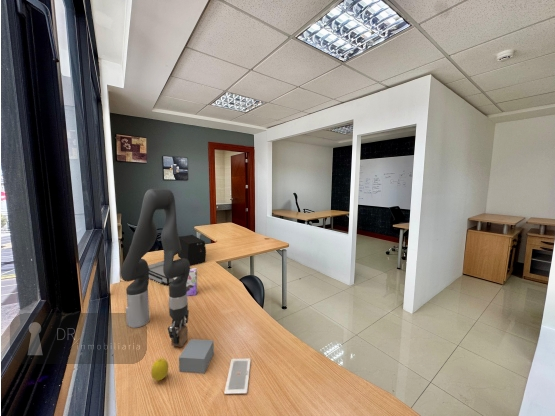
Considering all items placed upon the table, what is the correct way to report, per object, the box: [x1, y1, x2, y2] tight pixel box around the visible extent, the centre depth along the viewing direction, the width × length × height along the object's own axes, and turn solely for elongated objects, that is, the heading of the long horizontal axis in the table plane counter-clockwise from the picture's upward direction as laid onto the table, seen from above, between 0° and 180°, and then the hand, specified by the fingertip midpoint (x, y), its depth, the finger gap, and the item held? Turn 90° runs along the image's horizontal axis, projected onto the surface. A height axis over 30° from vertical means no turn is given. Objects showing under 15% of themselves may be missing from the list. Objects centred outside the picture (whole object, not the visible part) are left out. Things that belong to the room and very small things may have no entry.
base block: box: [178, 338, 215, 374], centre depth 89 cm, size 10×10×6 cm
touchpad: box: [223, 358, 252, 395], centre depth 83 cm, size 8×15×2 cm, turn 2°
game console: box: [148, 260, 192, 287], centre depth 168 cm, size 21×32×8 cm, turn 58°
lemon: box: [150, 358, 169, 381], centre depth 81 cm, size 6×6×8 cm
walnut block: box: [170, 325, 189, 347], centre depth 99 cm, size 5×5×6 cm
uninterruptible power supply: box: [177, 234, 207, 267], centre depth 206 cm, size 16×34×20 cm, turn 40°
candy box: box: [173, 267, 198, 297], centre depth 142 cm, size 14×6×16 cm, turn 105°
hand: (179, 338), depth 99 cm, fingers closed on walnut block, 5 cm apart
